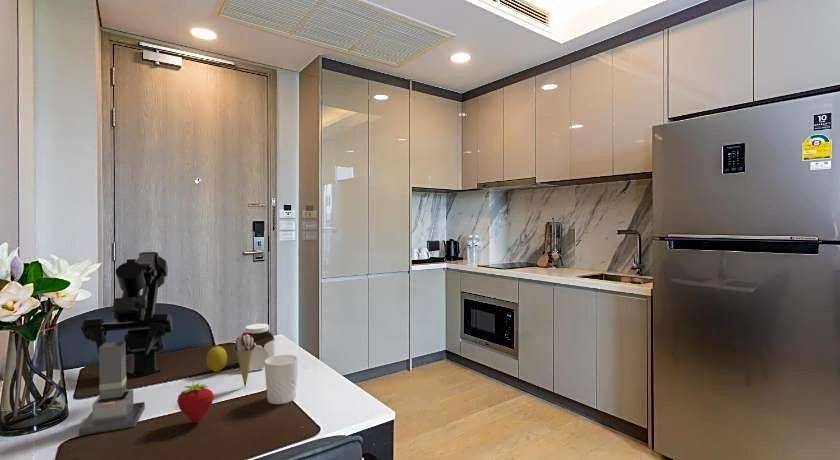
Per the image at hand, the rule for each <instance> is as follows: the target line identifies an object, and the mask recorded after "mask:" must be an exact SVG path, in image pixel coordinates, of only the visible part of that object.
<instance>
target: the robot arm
mask: <svg viewBox="0 0 840 460" xmlns="http://www.w3.org/2000/svg"><path fill="white" fill-rule="evenodd" d="M168 272H169V271H168V263H167V261H166V259H165V258H162V257H161V256H159V252H157V251H144V252H143V251H142V252H139V254H138V258H137V259H136V258H130V259H129V258H128V259H126V262H124V263H122V264H120V265H118V266H117V268H116V269H115V276H116V278H117V281H118V286H119V289H120V290H121V291H122V292H121V293H122V294H121V297H117V298H113V303H112V313H114V314H113V318H114V320H116V321H114V322H113V321H111V322H105V319H104V318H103V317H94V318H85V319H84V320H83V321H82V322H81V325H80V329H81V331H82V334H83V336H84V338H85V339H86V340H89V341H91V342H93V343H96V348H97V353H98V355H99V347H100V346H102V345H103V344H104V343H107V338H106V336H107V332H112V331H121V330H122V331H123V330H124V331H127V333H125V335H124V340H123V341H125V342H126V356H129V355H132V369H130V370H128V371H127V373H128V374H129V375H132V376H134V377H136V378H139V377H142V376H143V377H144V376H146V375H149V374H154V373H158V372H160V371H162V369H161V368H159V367H157V363H156V362H157V359H156V357H157V356H156V355H157V354H156V352H161V351H163V350H164V340H163V337H164V336H166V335H167V334H169V333H172V332H173V323H174V322H173V319H172V315H171V314H170V313H169V312H165V313H164V312H163V313H156V305H157V298H158V291H159V288H160V287H161V286H163V284H165V280H166V277H168V274H169V273H168Z"/></svg>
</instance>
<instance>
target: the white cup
mask: <svg viewBox="0 0 840 460" xmlns="http://www.w3.org/2000/svg"><path fill="white" fill-rule="evenodd" d="M298 358H299V357H298V356H296V355H293V354H279V355H278V354H277V355H274V356H273V357H270V358H268V359H266V360H265V367H264V370H265V371H264V373H265V386H266V387H265V388H266V393H267V402H268V404H269V403H270V404H272V405H283V404H288V403H290V402H293V401H294V400H295V399H296V397H297V395H296V391H297V381H298V360H299V359H298Z"/></svg>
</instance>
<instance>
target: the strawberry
mask: <svg viewBox="0 0 840 460" xmlns="http://www.w3.org/2000/svg"><path fill="white" fill-rule="evenodd" d="M191 380H192V385H186V386H184V388H188V389H185V390H183V391H181V392H180V394H179V395H178V396H177V400H176V402H177V405H178V408H179V410H180V412H182V414H184V415H185V417H187V418H188V419H190V421H191V422H192V423H195V424H196V423H197V424H198V423H199V422H201V420H202V419H203V418H204V416H205V415H207V413H208V411H210V408H211V407H212V404H213V403H214V393H213V391H212V390H211V389H209V388H208V385H207V384H205V383H204V384H200V382H198V383H196V384H195V385H194V380H193V379H191Z"/></svg>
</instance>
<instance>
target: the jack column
mask: <svg viewBox="0 0 840 460" xmlns="http://www.w3.org/2000/svg"><path fill="white" fill-rule="evenodd" d="M126 358H127V355H126V342H125V341H124V340H122V341H110V342H106V343H104V344H103V345H102V346H100V347H99V354H98V362H99V364H98V365H99V367H98V368H99V371H98V372H99V387H98V388H99V396H100V399H106V398H114V397H121V396H122V395H123V394H124V393H125V391H126V390H127V362H126V361H127V360H126Z"/></svg>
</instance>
